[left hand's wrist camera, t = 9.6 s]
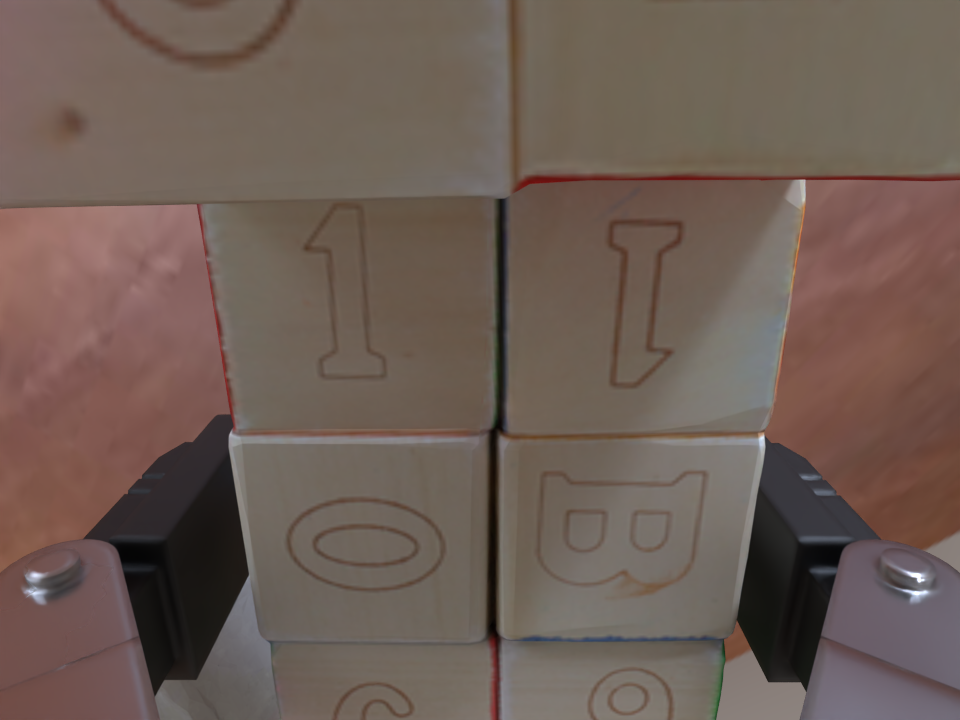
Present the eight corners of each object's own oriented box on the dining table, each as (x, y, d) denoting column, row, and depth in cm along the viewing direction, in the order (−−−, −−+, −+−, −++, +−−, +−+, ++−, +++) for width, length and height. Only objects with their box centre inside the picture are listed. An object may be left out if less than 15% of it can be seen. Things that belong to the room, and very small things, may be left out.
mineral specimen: (222, 466, 25) (167, 650, 18) (367, 578, 29) (367, 762, 22) (87, 560, 26) (-13, 766, 19) (244, 655, 30) (208, 851, 23)
